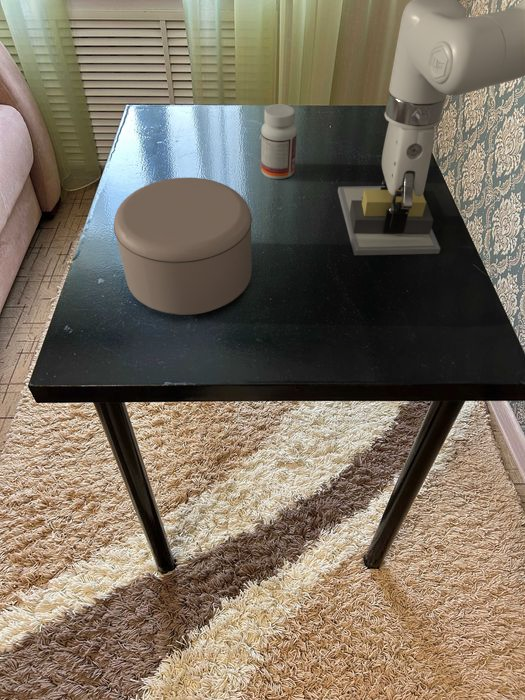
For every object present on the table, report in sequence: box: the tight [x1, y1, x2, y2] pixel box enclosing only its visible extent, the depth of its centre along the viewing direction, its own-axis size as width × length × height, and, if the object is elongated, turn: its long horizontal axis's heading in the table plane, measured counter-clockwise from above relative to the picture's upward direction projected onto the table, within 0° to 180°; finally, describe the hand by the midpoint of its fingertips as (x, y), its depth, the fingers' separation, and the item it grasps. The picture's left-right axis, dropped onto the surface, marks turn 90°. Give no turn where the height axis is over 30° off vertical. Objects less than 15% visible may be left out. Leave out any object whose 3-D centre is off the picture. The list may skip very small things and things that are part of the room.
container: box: [113, 177, 253, 316], centre depth 74 cm, size 18×18×12 cm
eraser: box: [350, 190, 434, 234], centre depth 84 cm, size 12×6×5 cm, turn 90°
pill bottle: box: [260, 103, 298, 180], centre depth 94 cm, size 6×6×11 cm
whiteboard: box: [337, 185, 441, 256], centre depth 88 cm, size 18×13×1 cm
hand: (389, 219), depth 85 cm, fingers closed on eraser, 5 cm apart
